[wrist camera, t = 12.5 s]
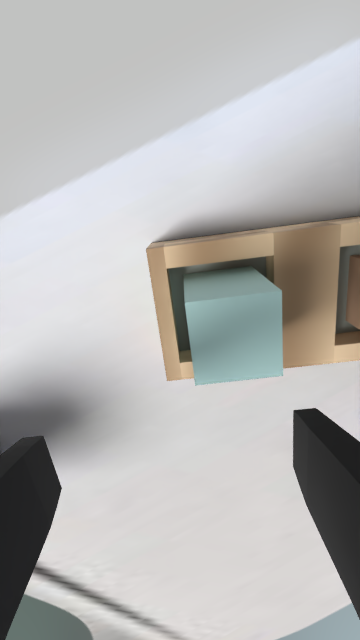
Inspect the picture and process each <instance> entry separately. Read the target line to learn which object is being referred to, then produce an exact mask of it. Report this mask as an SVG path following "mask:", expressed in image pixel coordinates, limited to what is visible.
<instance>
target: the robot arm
mask: <svg viewBox="0 0 360 640" xmlns="http://www.w3.org/2000/svg"><path fill="white" fill-rule="evenodd" d="M293 467H294V470H295V473H296V476H297V479H298V482H299V485H300V488H301V491H302V494H303V497H304V499H305V502H306V505H307V507H308V509H309V511H310V514H311V516H312V518H313V520H314V522H315V524H316V527H317V529H318V531H319V533H320V535H321V537H322V539H323V542H324V544H325V546H326V548H327V550H328V552H329V554H330V556H331V559H332V561H333V563H334V565H335V567H336V569H337V571H338V573H339V576H340V578H341V580H342V582H343V584H344V586H345V588H346V590H347V592H348V595H349V597H350V599H351V601H352V603H353V605H354V608H355V610H356V612H357V614H358V617H359V619H360V442H359V441H358V440H357V439H355V438H354V437H353V436H351V435H350V434H349V433H347V432H346V431H345V430H344V429H342V428H341V427H340V426H338V425H337V424H336V423H335V422H333V421H332V420H331V419H329V418H328V417H327V416H325V415H324V414H323V413H322V412H320V411H319V410H318V409H316V408H312V409H302V410H294V415H293ZM61 489H62V488H61V485H60V482H59V479H58V476H57V474H56V471H55V468H54V465H53V462H52V459H51V456H50V454H49V451H48V448H47V445H46V442H45V439H44V436H37V437H27V438H22V439H21V440H20V441H18V442H17V443H15V444H14V445H13V446H12V447H10V448H9V449H8V450H7V451H5V452H4V453H3V454H2V455H0V640H5V639H6V636H7V633H8V631H9V628H10V626H11V623H12V621H13V618H14V616H15V613H16V611H17V609H18V606H19V604H20V601H21V599H22V597H23V594H24V592H25V589H26V587H27V585H28V582H29V580H30V577H31V575H32V572H33V570H34V568H35V565H36V563H37V560H38V558H39V555H40V553H41V550H42V548H43V545H44V543H45V540H46V538H47V535H48V533H49V530H50V528H51V525H52V521H53V518H54V514H55V511H56V508H57V504H58V500H59V496H60V493H61Z"/></svg>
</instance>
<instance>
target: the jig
mask: <svg viewBox="0 0 360 640" xmlns="http://www.w3.org/2000/svg"><path fill="white" fill-rule="evenodd" d="M146 252H147V258H148V264H149V271H150V277H151V283H152V289H153V295H154V302H155V308H156V314H157V320H158V327H159V333H160V339H161V345H162V351H163V358H164V364H165V370H166V376H167V381H172V380H181V379H191V378H194V371H193V364H192V356H191V348H190V340H189V333H188V325H187V317H186V310H185V300H184V276H183V275H185V274H193V273H201V272H208V271H216V270H224V269H232V268H240V267H247V266H252V267H253V268H254V269H255V270H257V271H258V272H259V273H260V274H262V275H263V276H264V277H265V278H267V279H268V280H269V281H270V282H272V283H273V284H274V285H275V286H277V287H278V288H279V289H280V290H282V336H283V368H292V367H302V366H311V365H320V364H330V363H339V362H348V361H357V360H360V330H359V329H358V328H356V327H355V326H353V325H352V324H350V323H349V322H347V321H346V320H345V319H346V305H347V290H348V275H349V260H350V256H352V255H360V216H357V217H349V218H342V219H334V220H326V221H318V222H311V223H303V224H295V225H287V226H280V227H272V228H264V229H256V230H249V231H241V232H233V233H225V234H218V235H210V236H202V237H195V238H187V239H179V240H171V241H164V242H156V243H151V244H150V245H149V246H148V248H147V249H146Z"/></svg>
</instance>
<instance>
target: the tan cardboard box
mask: <svg viewBox="0 0 360 640" xmlns="http://www.w3.org/2000/svg"><path fill="white" fill-rule="evenodd" d="M345 320H346V321H347V322H349V323H350V324H352V325H353V326H355V327H356V328H358V329H359V330H360V255H352V256H350V260H349V275H348V290H347V305H346V319H345Z"/></svg>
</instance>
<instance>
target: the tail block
mask: <svg viewBox="0 0 360 640" xmlns="http://www.w3.org/2000/svg"><path fill="white" fill-rule="evenodd" d="M183 276H184V300H185V310H186V317H187V325H188V333H189V340H190V348H191V356H192V364H193V371H194V379H195V385H204V384H213V383H222V382H231V381H240V380H249V379H258V378H267V377H276V376H283V336H282V290H280V289H279V288H278V287H277V286H275V285H274V284H273V283H272V282H270V281H269V280H268V279H267V278H265V277H264V276H263V275H262V274H260V273H259V272H258V271H257V270H255V269H254V268H253V267H252V266H247V267H240V268H232V269H224V270H216V271H208V272H201V273H193V274H185V275H183Z"/></svg>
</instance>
